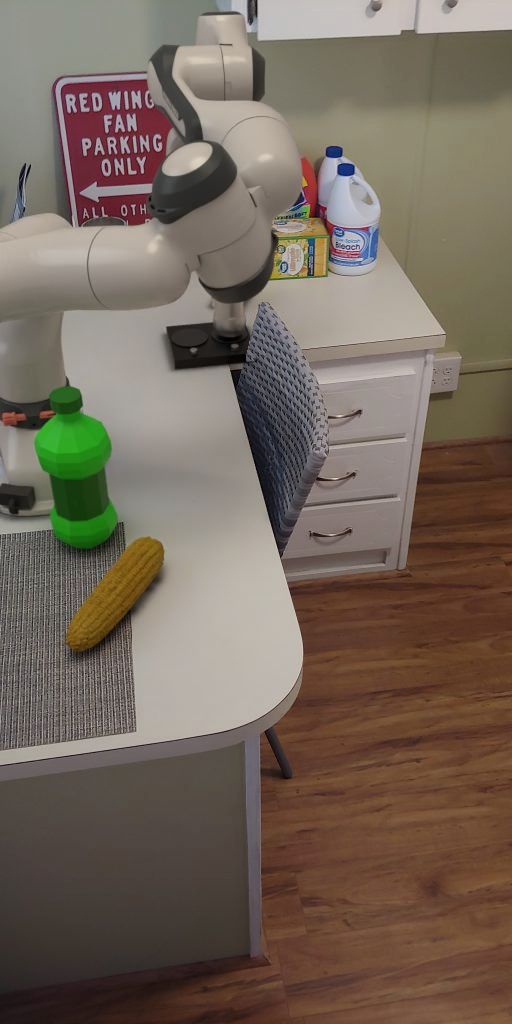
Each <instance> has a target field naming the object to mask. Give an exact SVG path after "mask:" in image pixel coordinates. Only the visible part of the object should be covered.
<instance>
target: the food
mask: <svg viewBox="0 0 512 1024" xmlns="http://www.w3.org/2000/svg"><path fill="white" fill-rule="evenodd" d="M165 553H166V551H165V549H164V545H163V543H162V542H161V541H159V540H158V539H156V538H152V537H151V536H150V535H149V536H141V537H139V538H137V539H135V540H134V541H133V542H131V543H129V545H128V546H126V548H125V550H123V552H122V554H121V555H120V556H119V559H118V560H116V561H115V562H114V563H113V566H112V567H110V569H109V571H108V572H106V574H105V575H104V577H103V578H102V579H101V580H100V581H99V583H98V584H97V585H96V587H95V588H94V589H93V591H92V592H91V593H90V594H89V596H88V597H87V598H86V599H85V600H84V602H83V603H82V604H81V606H80V607H79V609H78V611H77V612H76V613H75V614H74V615H73V617H72V619H71V620H70V623H69V625H68V629H67V630H66V634H65V637H66V638H65V639H64V641H65V643H66V646H68V648H69V649H71V650H72V651H74V652H78V653H81V652H84V651H87V650H88V649H92V648H93V647H94V646H95V645H97V644H99V643H100V642H101V641H102V640H103V639H105V637H106V636H107V635H108V634H109V633H110V632H111V631H112V630H113V629H114V628H115V626H116V625H117V624H118V623H120V621H121V620H122V619H123V618H124V617H125V615H126V614H127V613H128V611H130V610H131V608H132V607H133V606H134V604H135V603H136V602H137V601H138V600H139V599H140V597H141V596H142V594H144V593H145V591H146V589H147V588H148V587H149V586H150V584H151V583H152V582H153V580H154V579H155V578H156V577H157V575H158V573H160V571H161V569H162V567H163V565H164V561H165Z"/></svg>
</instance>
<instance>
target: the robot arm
mask: <svg viewBox="0 0 512 1024" xmlns="http://www.w3.org/2000/svg"><path fill="white" fill-rule="evenodd" d="M196 22H197V23H196V32H195V33H196V34H195V45H181V44H162V45H161V46H159V47H158V48H157V49H156V51H154V53H153V54H152V55H151V56H150V58H149V59H148V63H147V70H146V82H147V88H148V93H149V95H150V98H151V100H152V104H153V106H154V107H155V108H156V109H157V110H158V112H160V113H161V114H162V115H164V116H165V117H166V119H167V121H168V122H169V124H170V125H171V126H172V128H171V129H170V130H169V132H168V134H167V139H166V147H165V148H166V149H165V150H166V151H165V157H164V158H163V159H162V161H161V163H160V164H159V166H158V168H157V170H156V172H155V175H154V177H153V180H152V184H151V192H150V193H149V194H147V197H146V201H145V206H146V211H147V213H148V214H149V215H150V216H151V217H152V218H151V219H150V220H149V221H147V222H144V223H142V224H137V225H95V226H94V225H91V226H73V225H72V224H71V223H70V222H69V221H68V220H66V219H65V218H64V217H62V216H61V215H58V214H57V213H52V212H45V213H39V214H33V215H29V216H24V217H21V218H19V219H17V220H14V221H13V222H11V223H9V224H7V225H5V226H3V227H1V228H0V512H1V513H2V514H6V515H9V516H18V517H33V516H45V515H50V514H51V510H52V508H53V506H54V499H53V494H52V488H51V482H50V477H49V473H47V472H45V471H43V470H42V467H41V465H40V463H39V460H38V457H37V454H36V451H35V445H34V441H35V437H36V434H37V433H38V432H39V431H40V430H41V428H42V427H43V426H44V425H45V424H46V423H47V422H48V421H49V420H50V419H51V418H53V417H54V416H55V415H56V413H55V412H53V411H52V408H51V404H50V398H49V395H50V393H51V392H52V391H53V390H55V389H57V388H60V387H72V386H71V383H70V380H69V378H68V376H67V375H66V368H65V367H66V366H65V360H64V359H65V358H64V352H63V342H62V340H63V339H62V337H63V336H62V332H63V321H64V314H65V313H66V312H71V311H111V312H112V311H113V312H115V311H116V312H117V311H121V312H122V311H125V312H126V311H139V310H147V309H152V308H158V307H162V306H165V305H170V304H173V303H175V302H176V301H178V300H179V299H180V298H181V297H182V296H183V295H184V294H185V292H186V291H187V290H188V287H189V284H190V282H191V277H192V273H193V272H194V273H195V275H196V276H197V279H198V282H199V284H200V285H201V287H202V288H203V289H204V291H205V292H206V293H207V294H208V295H209V296H210V297H211V299H212V298H214V299H215V300H216V301H218V302H220V303H225V304H233V303H241V302H244V301H245V302H247V301H249V300H251V299H253V298H255V297H256V296H258V295H259V294H260V293H262V291H263V290H264V289H265V288H266V286H267V284H269V281H270V280H271V278H272V275H273V272H274V267H275V266H274V265H275V253H276V251H277V248H278V247H279V243H280V238H279V236H278V235H277V234H276V233H274V232H273V231H272V223H273V221H274V220H275V219H276V218H277V217H278V216H281V215H282V214H284V213H286V212H287V211H289V210H290V209H291V208H292V207H293V206H294V205H295V203H296V202H297V201H298V199H299V197H300V195H301V193H302V189H303V165H302V159H301V153H300V151H299V150H300V149H299V147H298V146H299V145H298V144H297V140H296V138H295V136H294V133H293V131H292V129H291V126H290V125H289V123H288V122H287V120H286V119H285V117H284V116H283V115H282V114H281V113H280V112H278V111H277V110H276V109H275V108H273V107H271V106H270V105H268V104H267V103H264V102H261V101H262V100H263V98H264V96H266V81H265V80H266V59H265V57H264V56H263V55H262V54H261V53H260V52H259V51H258V50H257V49H256V48H255V47H253V46H252V45H249V42H248V32H247V24H246V22H247V21H246V17H245V15H244V14H243V13H241V12H240V11H235V10H231V11H230V10H229V11H228V10H227V11H206V12H202V14H200V15H199V16H198V18H197V21H196ZM245 302H244V303H245ZM80 413H83V414H85V413H84V409H83V408H81V409H80Z"/></svg>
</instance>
